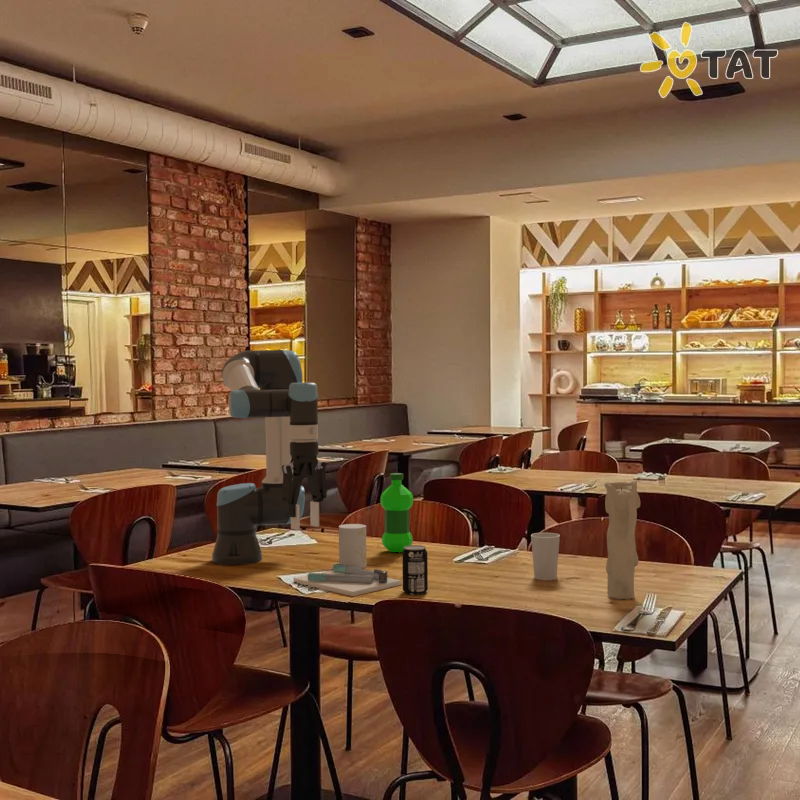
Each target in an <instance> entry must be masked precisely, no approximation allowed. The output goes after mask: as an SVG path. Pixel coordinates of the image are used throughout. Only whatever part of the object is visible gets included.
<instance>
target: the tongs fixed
mask: <svg viewBox="0 0 800 800" xmlns="http://www.w3.org/2000/svg"><path fill="white" fill-rule="evenodd" d="M332 570H334V572H339V573H344V574H351V575H374V580H377V581H379V583H387V582H388V578H389V577H388V571H387V570H386V571H385V570H382V569H378V568H375V569H366V568H357V567H352V566H348V565H343V564H339V563H336V564H333V566H332Z"/></svg>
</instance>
